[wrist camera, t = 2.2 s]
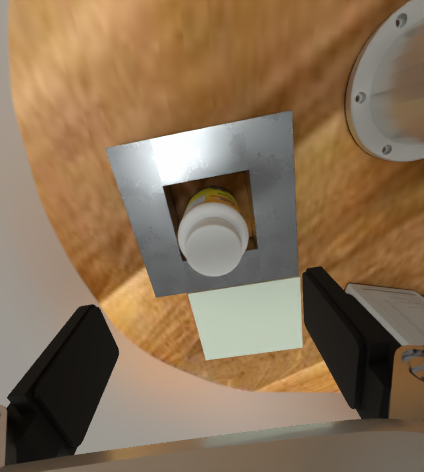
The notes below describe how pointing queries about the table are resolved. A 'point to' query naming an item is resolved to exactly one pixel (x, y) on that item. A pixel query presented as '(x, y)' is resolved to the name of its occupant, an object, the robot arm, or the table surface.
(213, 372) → the table surface
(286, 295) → the sage mat
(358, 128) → the robot arm
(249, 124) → the socket block
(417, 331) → the supplement box
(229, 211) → the supplement bottle
